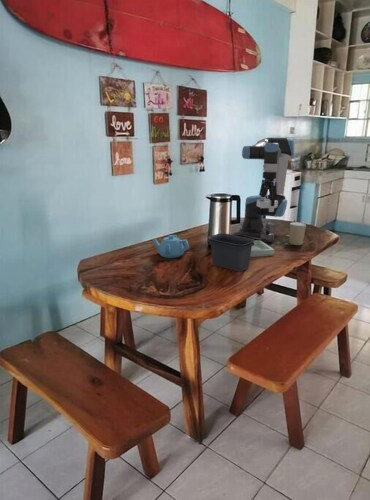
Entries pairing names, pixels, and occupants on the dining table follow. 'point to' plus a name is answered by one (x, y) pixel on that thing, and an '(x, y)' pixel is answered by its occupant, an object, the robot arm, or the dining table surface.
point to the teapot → (171, 246)
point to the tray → (261, 249)
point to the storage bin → (231, 251)
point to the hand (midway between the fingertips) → (266, 209)
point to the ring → (265, 203)
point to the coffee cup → (296, 233)
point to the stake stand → (267, 235)
